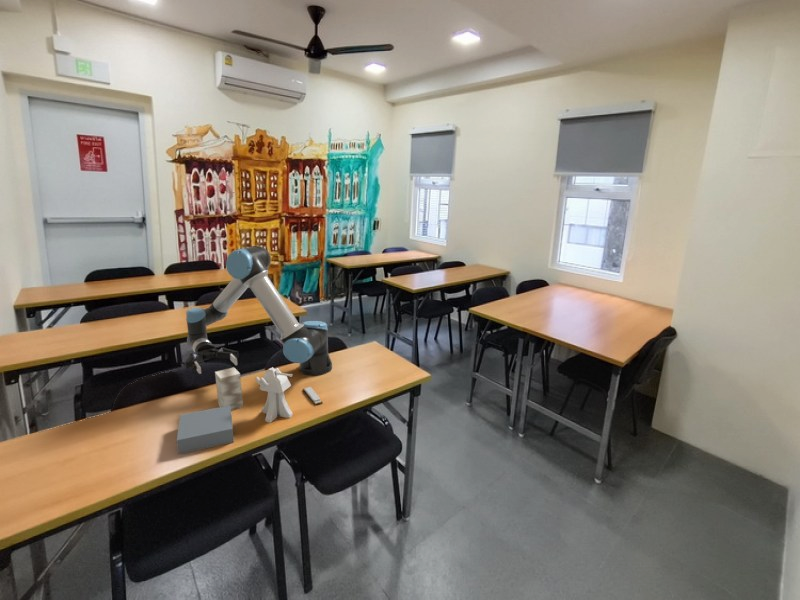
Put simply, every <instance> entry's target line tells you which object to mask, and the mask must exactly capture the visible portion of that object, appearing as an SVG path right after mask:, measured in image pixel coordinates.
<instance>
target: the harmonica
mask: <svg viewBox="0 0 800 600" xmlns="http://www.w3.org/2000/svg"><path fill="white" fill-rule="evenodd" d="M302 391H303V392H304V393H305V395H306V394H307V397H308V398H309V400H310V401H311V402H312V403H313V405H314V406H320V405H323V401H322V400H321V398H320V396H319V395H318V394H317V393H316V391H315V390H314V389H313V388H312V387H311V386H308V387H304V388H302Z"/></svg>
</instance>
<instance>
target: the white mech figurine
mask: <svg viewBox="0 0 800 600" xmlns="http://www.w3.org/2000/svg"><path fill="white" fill-rule="evenodd" d="M288 377H290V378H293V373H284V372H282V371H280V369H279V368H278V367H276V368H274V367H273V366H272V367H270V368H268V369H267V370H266V371H265V373H264V375H263V376H262V377H259V376H256V377H254V380H255V382H257V384H258V385H260V386H259V390H260V391H263V392H267V397H266V402H265V403H264V406H263V408H262V409H261V413H263V414H266V416H265V419H264V420H265V422H266V423H272V422H273V421H274V420H276V419H277V417H278V418H279V417H283V418H286V419H290V418H292V417H293V416H294V414H293V412H292V410H291V408H290V406H289V403H288V402H287V400H286V396H285V391H287V390H288V389H290V387H291V386H292V384H291V382H290V380H289V379H288Z"/></svg>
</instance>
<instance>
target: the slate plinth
mask: <svg viewBox="0 0 800 600" xmlns="http://www.w3.org/2000/svg"><path fill="white" fill-rule="evenodd" d="M232 416H233V414H232V410H231V405H230V406H224V407H220V406H219V407H213V408H209V409H204V410H197V411H192V412H188V413H187V412H186V413H181V414H180V415H179V423H178V429H177V434H176V447H177V452H178V455H181V454H186V453H190V452H195V451H199V450H204V449H208V448H212V447H218V446H222V445H226V444H233V443H234V442H235V440H234V429H233V428H234V425H233V418H232Z"/></svg>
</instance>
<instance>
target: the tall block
mask: <svg viewBox="0 0 800 600" xmlns="http://www.w3.org/2000/svg"><path fill="white" fill-rule="evenodd" d="M214 376H215V385H216V395H217V403H218V406H219V407H224V406H230V405H231V411H234V410H238V409H241V408H243V407H244V400H243V392H242V391H243V390H242V379H241V378H242V377H241V373H240V372H239V371H238V369H236V367H234V366H233V367H230V368H225V369H221V370H217V371H214Z"/></svg>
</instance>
